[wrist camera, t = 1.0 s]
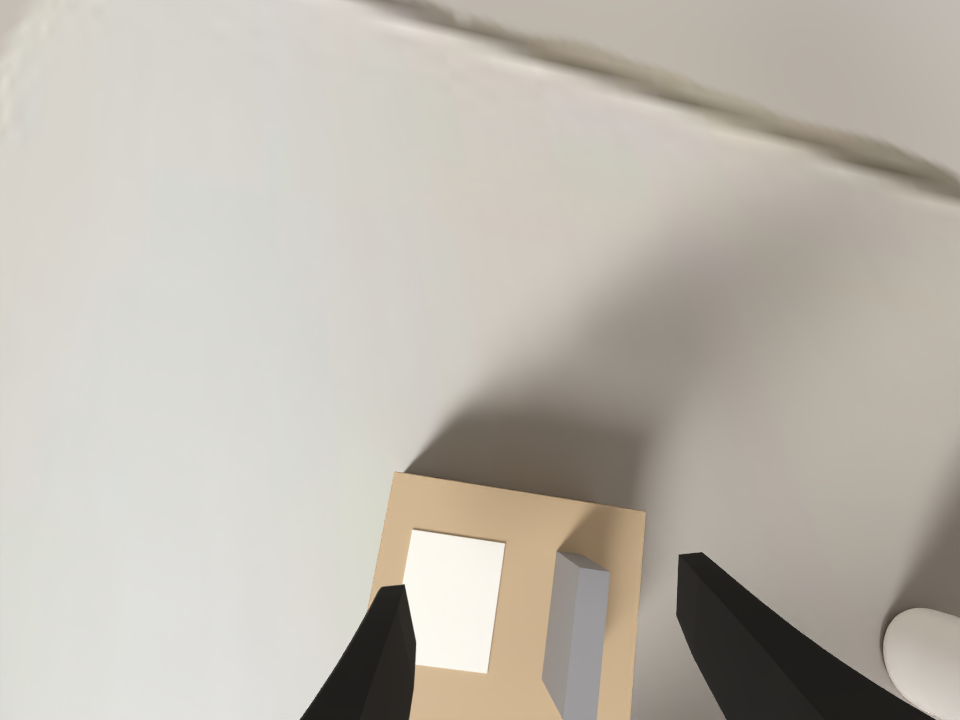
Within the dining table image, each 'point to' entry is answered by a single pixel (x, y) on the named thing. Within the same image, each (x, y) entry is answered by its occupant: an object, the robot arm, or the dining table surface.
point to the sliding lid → (514, 600)
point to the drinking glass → (925, 660)
